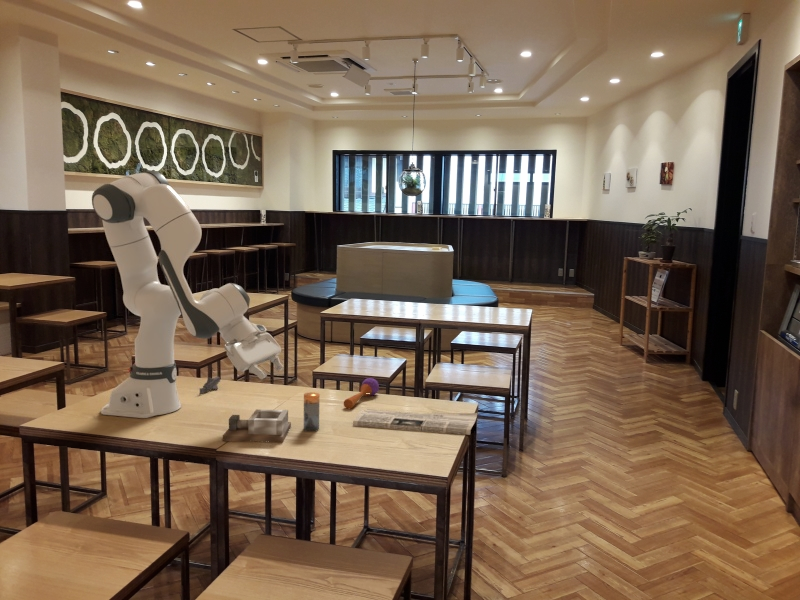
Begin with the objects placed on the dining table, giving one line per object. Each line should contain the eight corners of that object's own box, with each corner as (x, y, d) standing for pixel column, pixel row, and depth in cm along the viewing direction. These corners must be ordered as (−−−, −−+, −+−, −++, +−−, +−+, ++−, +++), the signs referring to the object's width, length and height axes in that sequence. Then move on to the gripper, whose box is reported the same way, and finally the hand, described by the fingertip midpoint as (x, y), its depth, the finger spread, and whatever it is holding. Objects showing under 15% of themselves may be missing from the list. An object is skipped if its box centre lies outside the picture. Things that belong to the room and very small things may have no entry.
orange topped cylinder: (302, 431, 169) (302, 396, 167) (304, 426, 173) (305, 392, 172) (318, 431, 169) (318, 397, 167) (320, 426, 173) (320, 392, 172)
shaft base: (222, 441, 160) (222, 421, 159) (234, 425, 172) (234, 407, 171) (282, 442, 160) (282, 422, 159) (290, 427, 172) (290, 408, 171)
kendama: (338, 395, 191) (364, 376, 209) (341, 413, 191) (367, 392, 210) (354, 394, 188) (379, 375, 207) (358, 412, 189) (383, 391, 207)
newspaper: (352, 427, 174) (352, 415, 174) (362, 414, 186) (362, 403, 186) (475, 437, 168) (475, 424, 168) (477, 422, 181) (477, 411, 180)
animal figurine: (206, 399, 201) (204, 385, 200) (195, 397, 202) (193, 384, 201) (225, 384, 212) (224, 370, 211) (214, 382, 214) (212, 369, 212)
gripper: (228, 336, 163) (260, 375, 161) (267, 324, 182) (296, 358, 181) (214, 351, 165) (246, 389, 163) (254, 337, 184) (283, 372, 182)
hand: (272, 373), depth 172 cm, fingers open, 8 cm apart
